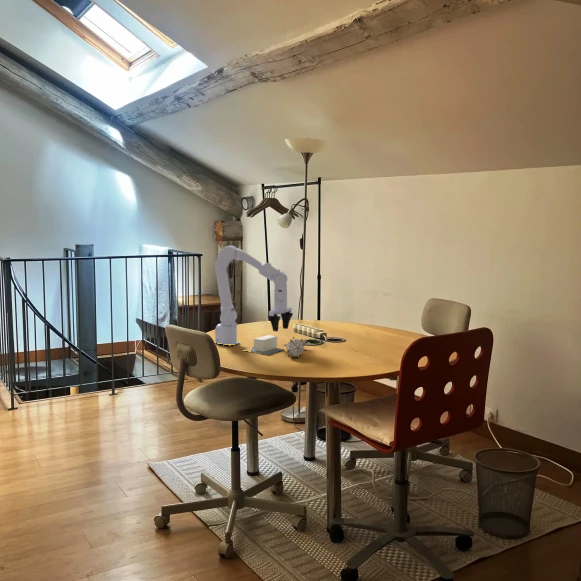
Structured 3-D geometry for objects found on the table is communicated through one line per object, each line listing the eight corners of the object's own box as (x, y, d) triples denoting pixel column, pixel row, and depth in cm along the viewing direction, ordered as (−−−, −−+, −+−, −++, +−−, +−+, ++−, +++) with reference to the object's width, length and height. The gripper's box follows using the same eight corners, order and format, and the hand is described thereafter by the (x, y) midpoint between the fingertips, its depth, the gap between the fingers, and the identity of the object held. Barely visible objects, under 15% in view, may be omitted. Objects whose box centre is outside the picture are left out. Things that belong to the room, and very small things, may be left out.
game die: (293, 367, 251) (283, 350, 246) (288, 355, 258) (278, 338, 253) (312, 356, 251) (302, 339, 246) (307, 345, 258) (297, 328, 253)
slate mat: (241, 350, 263) (241, 350, 263) (258, 346, 273) (258, 345, 273) (267, 355, 255) (267, 354, 255) (284, 350, 265) (284, 349, 265)
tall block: (267, 346, 271) (254, 350, 263) (267, 334, 270) (254, 338, 262) (277, 347, 268) (263, 351, 260) (277, 336, 268) (263, 340, 259)
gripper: (278, 302, 264) (278, 333, 265) (297, 298, 276) (297, 328, 277) (265, 300, 268) (265, 331, 269) (284, 297, 280) (284, 326, 281)
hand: (280, 329), depth 274 cm, fingers open, 7 cm apart
